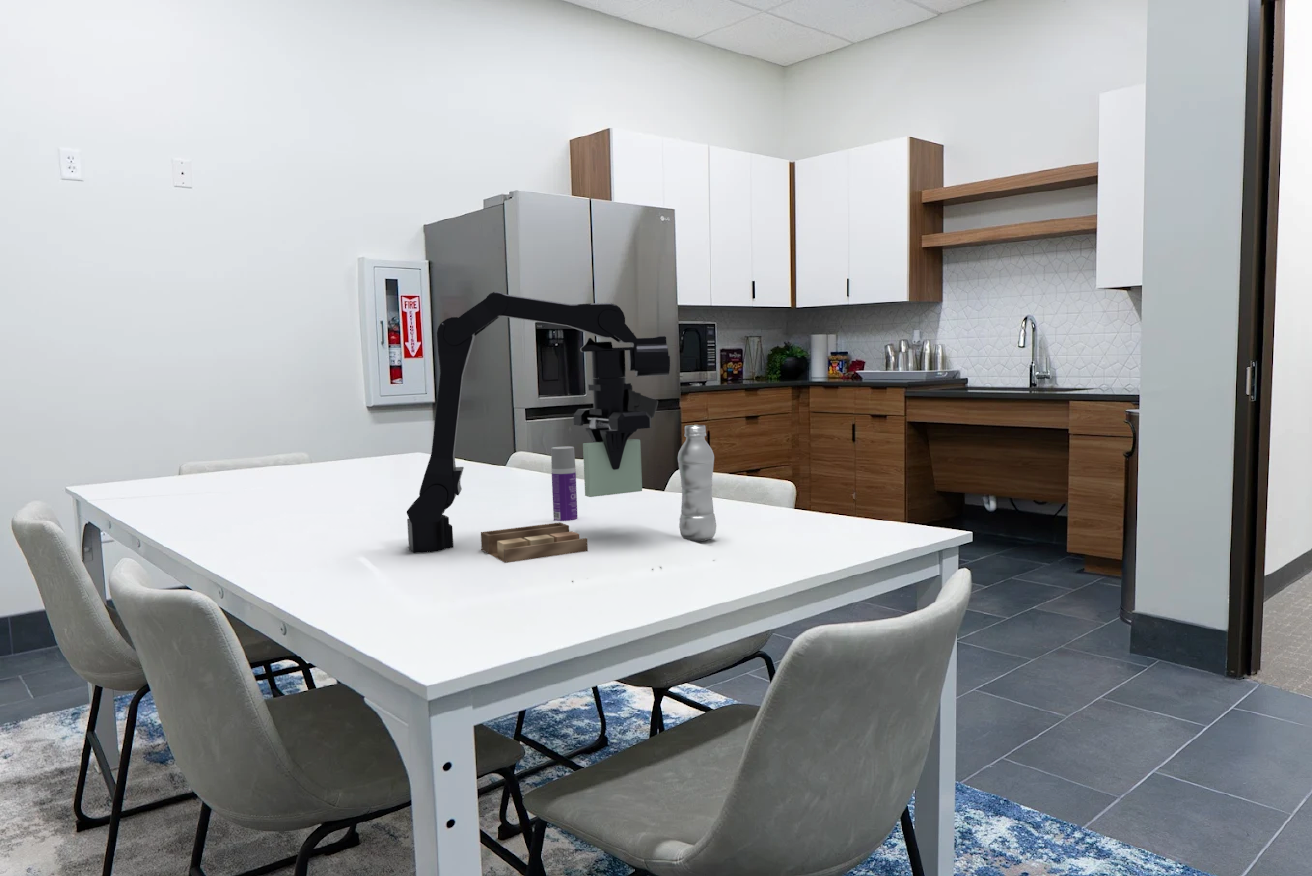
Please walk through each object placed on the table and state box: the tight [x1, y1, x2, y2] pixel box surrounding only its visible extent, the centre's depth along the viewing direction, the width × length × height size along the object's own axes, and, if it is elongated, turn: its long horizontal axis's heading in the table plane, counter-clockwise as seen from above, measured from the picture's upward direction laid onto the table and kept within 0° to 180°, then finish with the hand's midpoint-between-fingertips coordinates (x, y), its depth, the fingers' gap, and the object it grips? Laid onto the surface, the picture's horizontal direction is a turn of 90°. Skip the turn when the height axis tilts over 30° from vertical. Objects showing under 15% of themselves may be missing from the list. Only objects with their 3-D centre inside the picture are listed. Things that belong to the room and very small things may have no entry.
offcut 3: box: [550, 530, 580, 542], centre depth 150 cm, size 4×3×2 cm
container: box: [550, 445, 579, 522], centre depth 178 cm, size 5×5×15 cm
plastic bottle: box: [677, 424, 717, 543], centre depth 157 cm, size 6×7×20 cm
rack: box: [480, 521, 589, 564], centre depth 150 cm, size 14×12×4 cm
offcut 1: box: [497, 538, 528, 559], centre depth 145 cm, size 4×3×2 cm
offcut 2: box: [524, 535, 554, 546], centre depth 148 cm, size 4×3×2 cm
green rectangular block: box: [582, 438, 643, 498], centre depth 157 cm, size 10×2×9 cm, turn 119°
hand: (612, 468), depth 157 cm, fingers closed on green rectangular block, 2 cm apart
